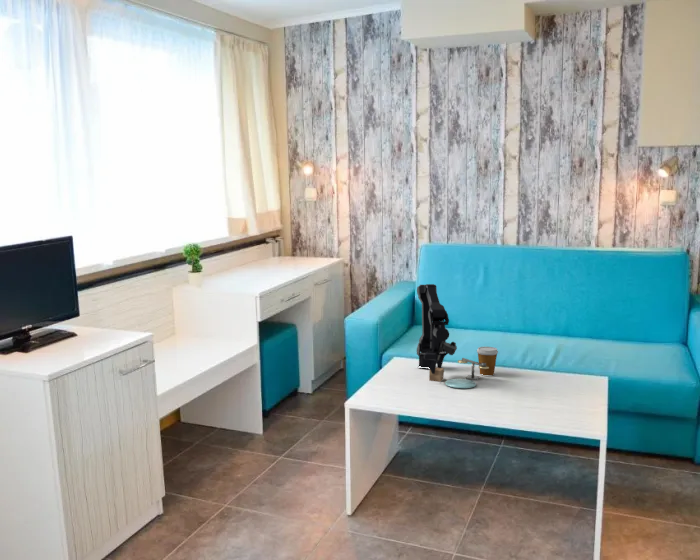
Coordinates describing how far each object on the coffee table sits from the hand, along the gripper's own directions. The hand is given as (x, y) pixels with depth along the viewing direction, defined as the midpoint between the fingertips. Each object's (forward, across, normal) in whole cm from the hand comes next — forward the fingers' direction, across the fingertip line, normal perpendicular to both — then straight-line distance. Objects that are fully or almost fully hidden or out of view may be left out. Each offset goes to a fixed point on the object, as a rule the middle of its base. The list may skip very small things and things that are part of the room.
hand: (436, 371), depth 296 cm
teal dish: (+4, -4, -12) cm, 13 cm away
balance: (+4, +9, -14) cm, 17 cm away
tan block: (+4, 0, 0) cm, 4 cm away
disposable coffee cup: (+4, +19, -18) cm, 26 cm away
